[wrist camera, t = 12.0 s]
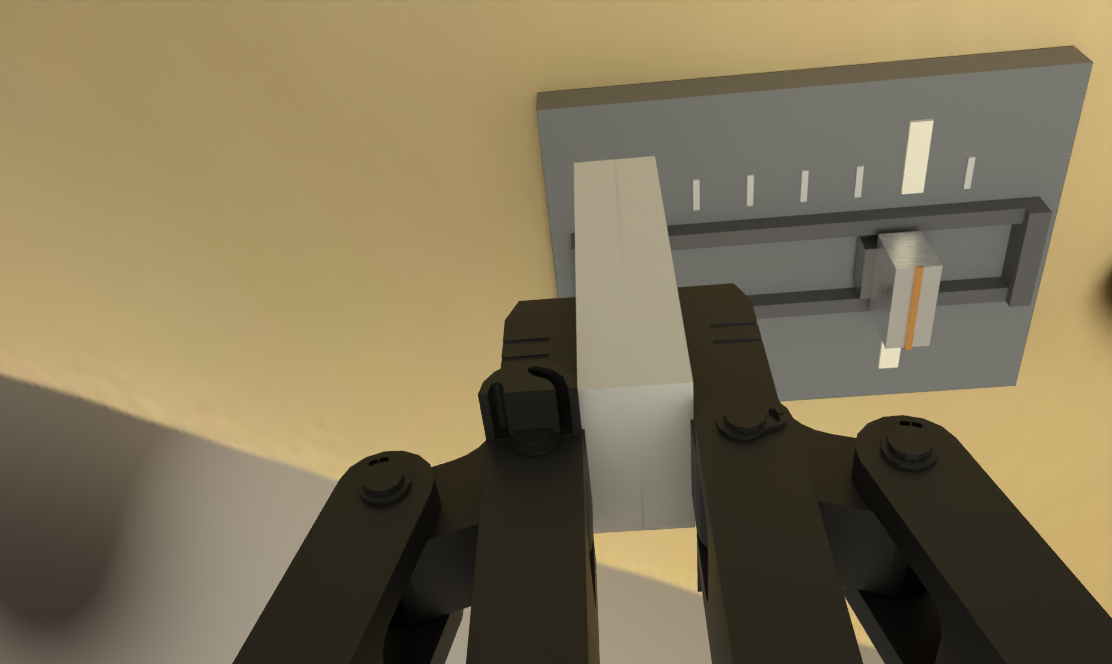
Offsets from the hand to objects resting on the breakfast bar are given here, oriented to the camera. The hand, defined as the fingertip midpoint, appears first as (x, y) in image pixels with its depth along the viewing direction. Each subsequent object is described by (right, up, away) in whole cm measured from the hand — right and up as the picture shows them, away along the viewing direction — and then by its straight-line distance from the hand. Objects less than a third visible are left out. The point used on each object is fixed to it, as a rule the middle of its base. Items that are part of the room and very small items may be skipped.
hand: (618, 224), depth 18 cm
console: (+11, +3, +31) cm, 33 cm away
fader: (+15, +2, +29) cm, 32 cm away
